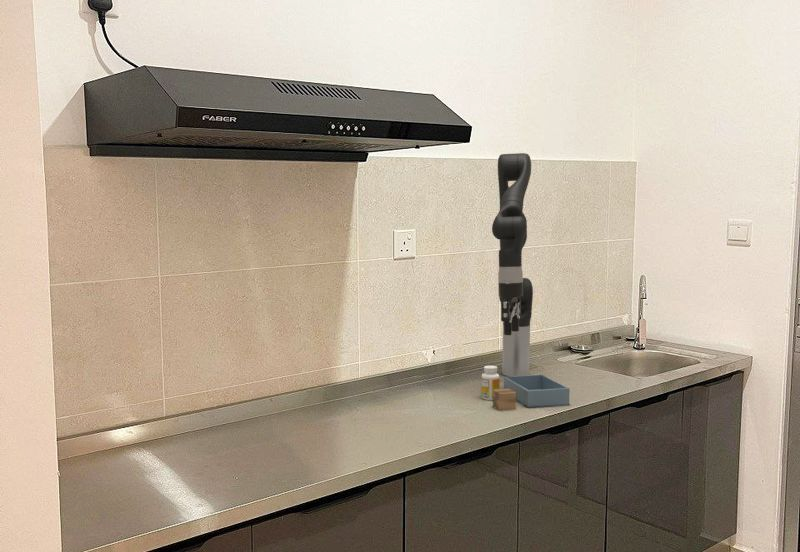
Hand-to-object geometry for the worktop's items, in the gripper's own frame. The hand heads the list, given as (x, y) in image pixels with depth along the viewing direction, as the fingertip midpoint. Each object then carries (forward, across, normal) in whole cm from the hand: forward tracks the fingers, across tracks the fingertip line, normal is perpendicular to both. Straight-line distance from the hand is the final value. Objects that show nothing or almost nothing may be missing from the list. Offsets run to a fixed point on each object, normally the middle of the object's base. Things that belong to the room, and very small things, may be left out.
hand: (511, 333), depth 239 cm
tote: (+19, +4, +8) cm, 21 cm away
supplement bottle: (+19, +10, -4) cm, 22 cm away
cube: (+19, +18, +2) cm, 27 cm away
